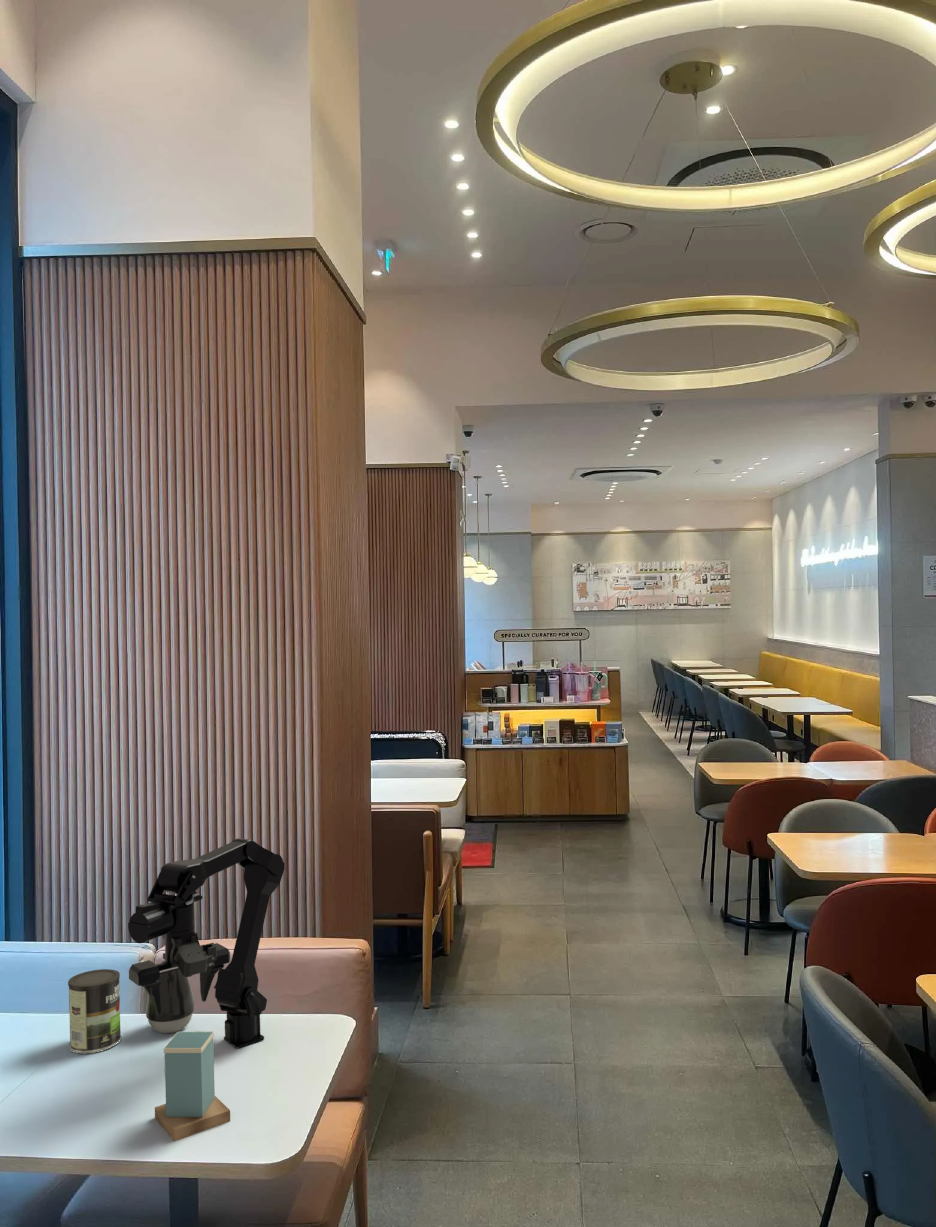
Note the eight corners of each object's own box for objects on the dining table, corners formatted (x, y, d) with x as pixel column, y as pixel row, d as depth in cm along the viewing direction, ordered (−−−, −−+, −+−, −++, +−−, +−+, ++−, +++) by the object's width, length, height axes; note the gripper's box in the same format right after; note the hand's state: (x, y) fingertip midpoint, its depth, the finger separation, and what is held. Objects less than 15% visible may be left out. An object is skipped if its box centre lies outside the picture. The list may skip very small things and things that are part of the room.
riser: (208, 1103, 173) (208, 1089, 173) (230, 1124, 165) (230, 1110, 165) (155, 1121, 167) (154, 1107, 167) (174, 1145, 159) (174, 1130, 159)
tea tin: (179, 1097, 170) (177, 1031, 170) (215, 1097, 169) (213, 1031, 169) (165, 1117, 163) (163, 1048, 163) (202, 1117, 163) (201, 1048, 163)
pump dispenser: (204, 1020, 209) (202, 952, 209) (177, 1040, 199) (176, 969, 199) (164, 1017, 212) (163, 950, 212) (136, 1036, 202) (135, 966, 202)
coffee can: (128, 1033, 204) (127, 968, 204) (109, 1054, 194) (108, 985, 194) (82, 1034, 204) (80, 969, 204) (60, 1055, 194) (59, 987, 194)
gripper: (148, 949, 172) (150, 1034, 171) (241, 926, 184) (243, 1006, 183) (126, 935, 180) (128, 1016, 180) (217, 914, 192) (219, 990, 192)
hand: (181, 1007), depth 184 cm, fingers open, 9 cm apart
